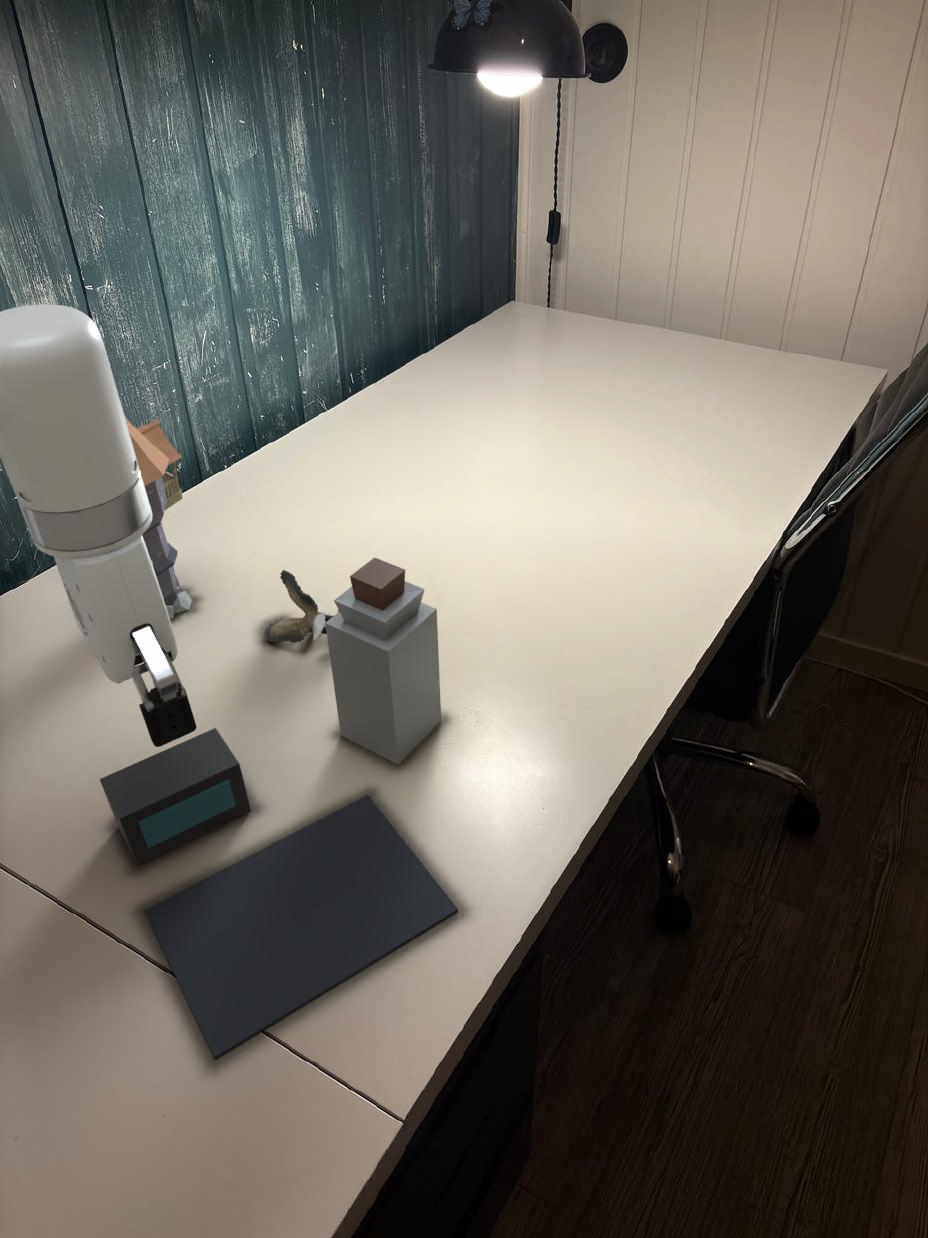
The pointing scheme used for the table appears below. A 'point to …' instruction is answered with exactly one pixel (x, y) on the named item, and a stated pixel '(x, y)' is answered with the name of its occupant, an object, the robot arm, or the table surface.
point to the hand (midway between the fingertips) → (152, 699)
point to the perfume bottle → (385, 662)
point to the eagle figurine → (297, 627)
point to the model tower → (160, 507)
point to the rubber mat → (294, 921)
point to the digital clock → (176, 795)
